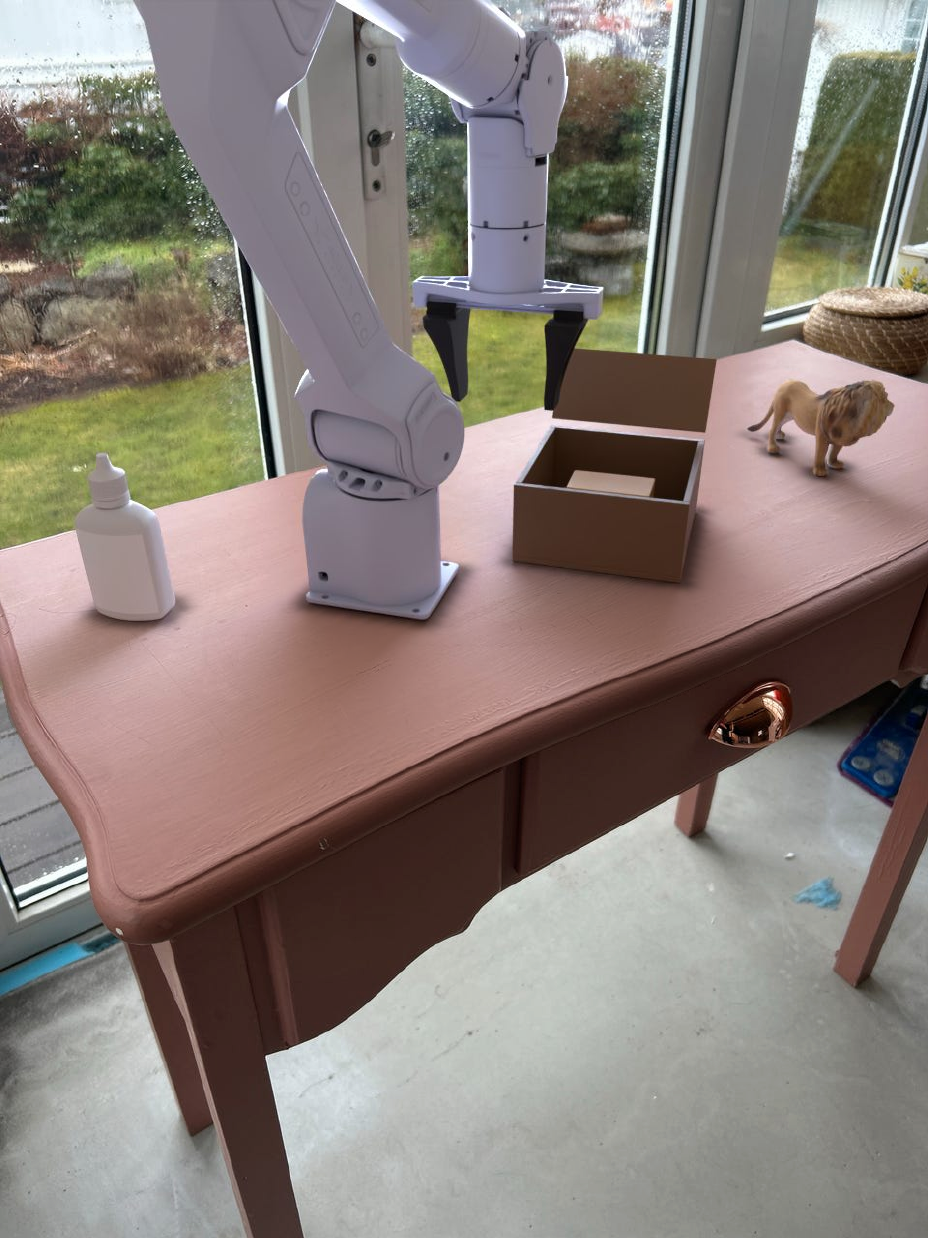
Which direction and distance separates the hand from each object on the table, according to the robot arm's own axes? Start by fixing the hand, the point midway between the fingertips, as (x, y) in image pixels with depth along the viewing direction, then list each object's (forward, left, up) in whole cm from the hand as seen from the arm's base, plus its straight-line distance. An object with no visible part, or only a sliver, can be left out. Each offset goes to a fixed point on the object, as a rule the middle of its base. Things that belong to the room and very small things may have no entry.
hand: (505, 402), depth 77 cm
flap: (+9, +7, 0) cm, 12 cm away
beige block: (+9, -3, -9) cm, 14 cm away
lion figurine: (+25, +19, -10) cm, 33 cm away
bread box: (+9, -2, -10) cm, 14 cm away
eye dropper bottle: (-22, -23, -10) cm, 33 cm away
